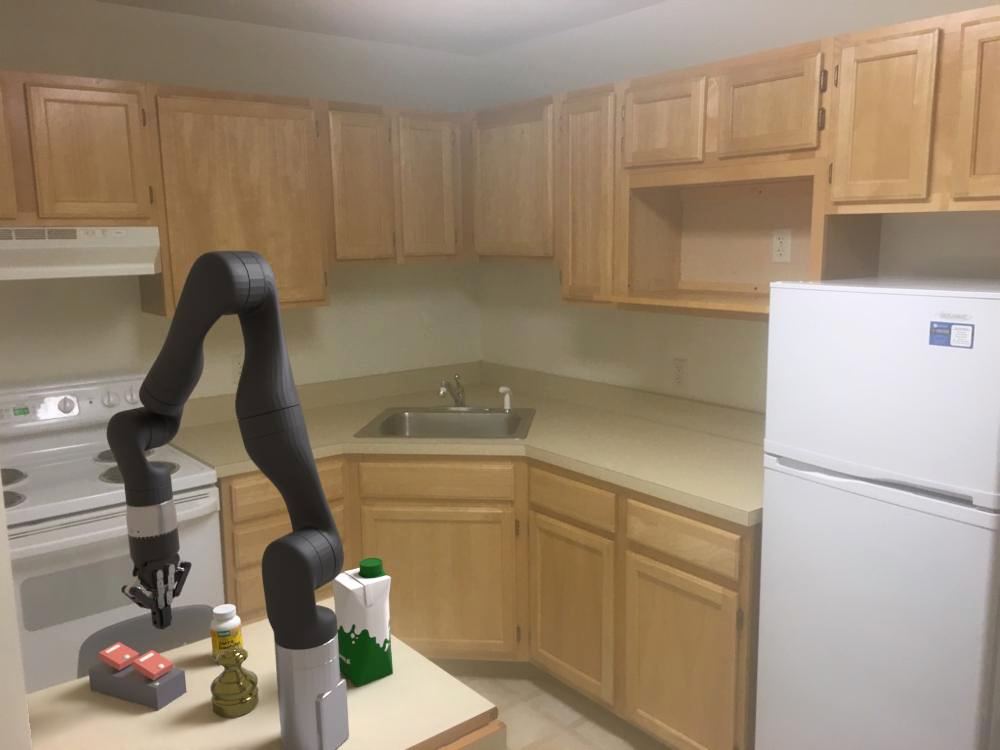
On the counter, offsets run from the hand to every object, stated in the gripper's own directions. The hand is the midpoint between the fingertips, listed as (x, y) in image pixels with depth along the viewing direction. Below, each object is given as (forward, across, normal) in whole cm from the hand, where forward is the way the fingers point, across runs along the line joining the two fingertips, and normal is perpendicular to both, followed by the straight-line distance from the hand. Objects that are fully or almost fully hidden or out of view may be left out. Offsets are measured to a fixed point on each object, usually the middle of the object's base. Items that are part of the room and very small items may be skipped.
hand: (163, 626), depth 132 cm
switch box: (+12, -1, +7) cm, 14 cm away
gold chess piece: (+13, +2, -12) cm, 18 cm away
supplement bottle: (+13, +14, 0) cm, 19 cm away
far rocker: (+7, -1, +10) cm, 13 cm away
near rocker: (+7, -1, +2) cm, 8 cm away
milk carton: (+13, +19, -26) cm, 35 cm away
